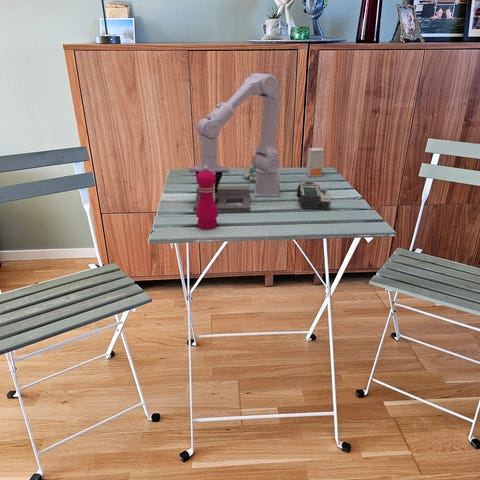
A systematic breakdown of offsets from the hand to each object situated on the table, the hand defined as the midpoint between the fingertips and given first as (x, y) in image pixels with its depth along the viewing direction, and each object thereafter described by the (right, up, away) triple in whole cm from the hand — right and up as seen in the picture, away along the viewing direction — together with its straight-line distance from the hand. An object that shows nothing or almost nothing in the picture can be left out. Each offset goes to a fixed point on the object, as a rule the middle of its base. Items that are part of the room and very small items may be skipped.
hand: (209, 192), depth 145 cm
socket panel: (+5, -4, +4) cm, 7 cm away
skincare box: (+44, +11, +35) cm, 57 cm away
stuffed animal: (+18, +9, +31) cm, 37 cm away
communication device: (+38, -2, +10) cm, 40 cm away
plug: (0, -2, +1) cm, 3 cm away
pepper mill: (0, -13, -14) cm, 19 cm away
